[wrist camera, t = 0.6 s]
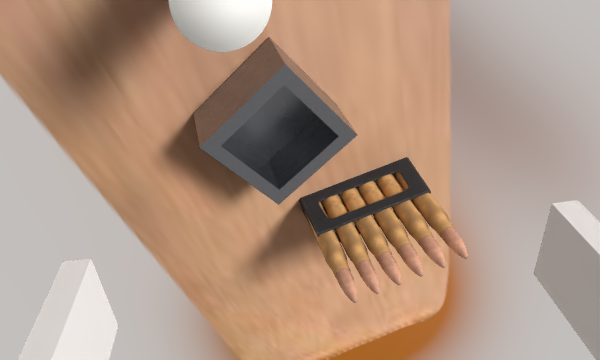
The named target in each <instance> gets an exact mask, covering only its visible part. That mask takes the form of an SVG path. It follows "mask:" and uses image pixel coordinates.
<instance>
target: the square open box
mask: <svg viewBox="0 0 600 360" xmlns="http://www.w3.org/2000/svg"><path fill="white" fill-rule="evenodd" d="M193 114H194V120H195V125H196V131H197V136H198V142H199V147H200V148H201V149H202V150H203V151H205V152H206V153H208V154H209V155H210V156H212V157H213V158H215V159H216V160H217V161H219V162H220V163H221V164H223V165H224V166H226V167H227V168H228V169H230V170H231V171H233V172H234V173H235V174H237V175H238V176H240V177H241V178H242V179H244V180H245V181H247V182H248V183H249V184H251V185H252V186H253V187H255V188H256V189H258V190H259V191H260V192H262V193H263V194H265V195H266V196H267V197H269V198H270V199H272V200H273V201H274V202H276V203H277V204H280V203H281V202H282V201H283V200H285V199H286V198H287V197H288V196H289V195H290V194H291V193H293V192H294V191H295V190H296V189H297V188H298V187H299V186H300V185H302V184H303V183H304V182H305V181H306V180H307V179H308V178H309V177H311V176H312V175H313V174H314V173H315V172H316V171H317V170H318V169H320V168H321V167H322V166H323V165H324V164H325V163H326V162H327V161H329V160H330V159H331V158H332V157H333V156H334V155H335V154H336V153H338V152H339V151H340V150H341V149H342V148H343V147H344V146H346V145H347V144H348V143H349V142H350V141H351V140H352V139H353V138H355V137H356V136H357V134H356V132H355V131H354V129H353V128H352V126H351V125H350V123H349V122H348V121H347V119H346V118H345V116H344V115H343V113H342V112H341V111H340V109H339V108H338V106H337V105H336V104H335V103H334V102H333V101H332V100H331V99H330V98H329V97H328V96H327V95H326V94H325V93H324V92H323V91H322V90H321V89H320V88H319V87H318V86H317V85H316V84H315V83H314V82H313V81H312V80H311V79H310V78H309V77H308V76H307V75H306V74H305V73H304V72H303V71H302V70H301V69H300V68H299V67H298V66H297V65H296V64H295V63H294V62H293V61H292V60H291V59H290V58H289V57H288V56H287V55H286V54H285V53H284V52H283V51H282V50H281V49H280V48H279V47H278V46H277V45H276V44H275V43H274V42H273V41H272V40H271V39H270V38H268V39H267V40H266V41H265V42H264V43H263V44H262V45H261V46H260V47H259V48H258V49H257V50H256V51H255V52H254V53H253V54H252V55H251V56H250V57H249V58H248V59H247V60H246V61H245V62H244V63H243V64H242V65H241V66H240V67H239V68H238V69H237V70H236V71H235V72H234V73H233V74H232V75H231V76H230V77H229V78H228V79H227V80H226V81H225V82H224V83H223V84H222V85H221V86H220V87H219V88H218V89H217V90H216V91H215V92H214V93H213V94H212V95H211V96H210V97H209V98H208V99H207V100H206V101H205V102H204V103H203V104H202V105H201V106H200V107H199V108H198V109H197V110H196V111H195V112H194V113H193Z"/></svg>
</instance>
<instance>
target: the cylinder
mask: <svg viewBox="0 0 600 360" xmlns="http://www.w3.org/2000/svg"><path fill="white" fill-rule="evenodd" d="M168 1H169V7H170V12H171V15H172V18H173V20H174V22H175V24H176V26H177V28H178V29H179V30H180V32H181V33H182V34H183V35H184V36H185V37H186V38H187V39H188V40H189V41H191V42H192V43H193V44H195V45H197V46H198V47H201V48H203V49H206V50H209V51H215V52H228V51H234V50H237V49H240V48H242V47H244V46H246V45H248V44H249V43H251V42H252V41H254V40H255V39H256V38H257V37H258V36H259V35H260V33H261V32H262V31H263V29H264V28H265V26H266V24H267V22H268V20H269V17H270V14H271V9H272V0H168Z"/></svg>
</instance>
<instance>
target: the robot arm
mask: <svg viewBox="0 0 600 360" xmlns="http://www.w3.org/2000/svg"><path fill="white" fill-rule="evenodd" d="M534 275H535V276H536V277H537V279H538V280H539V282H540V283H541V284H542V286H543V287H544V289H545V290H546V291H547V293H548V294H549V295H550V297H551V298H552V300H553V301H554V302H555V304H556V305H557V306H558V308H559V309H560V311H561V312H562V313H563V315H564V316H565V317H566V319H567V320H568V322H569V323H570V324H571V326H572V327H573V329H574V330H575V331H576V333H577V334H578V335H579V337H580V338H581V340H582V341H583V342H584V344H585V345H586V346H587V348H588V349H589V351H590V352H591V354H592V355H593V356H594V358H595V359H596V360H600V222H599V221H598V220H597V219H596V218H595V217H594V216H593V215H592V214H591V213H590V212H589V211H588V210H587V209H586V208H585V207H584V206H583V205H582V204H580V202H578V201H568V202H560V203H552V205H551V209H550V213H549V216H548V220H547V224H546V228H545V232H544V236H543V240H542V243H541V247H540V251H539V256H538V259H537V263H536V267H535V271H534ZM117 328H118V324H117V322H116V319H115V317H114V314H113V312H112V309H111V307H110V304H109V302H108V299H107V297H106V294H105V292H104V289H103V287H102V284H101V282H100V280H99V277H98V275H97V272H96V270H95V267H94V265H93V262H92V260H91V258H89V259H81V260H72V261H64V262H62V264H61V267H60V269H59V271H58V273H57V275H56V277H55V280H54V282H53V284H52V286H51V288H50V291H49V293H48V295H47V297H46V300H45V301H44V304H43V306H42V308H41V310H40V312H39V314H38V317H37V319H36V321H35V323H34V325H33V328H32V330H31V332H30V334H29V337H28V339H27V341H26V343H25V345H24V347H23V350H22V352H21V354H20V356H19V358H18V360H109V358H110V354H111V350H112V346H113V343H114V339H115V336H116V332H117Z"/></svg>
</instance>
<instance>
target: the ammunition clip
mask: <svg viewBox="0 0 600 360" xmlns="http://www.w3.org/2000/svg"><path fill="white" fill-rule="evenodd" d="M402 188H403V189H402ZM381 192H382V193H383V194H382V193H381ZM383 195H384V196H385V197H384V196H383ZM299 201H300V204H301V207H302V209H303V212H304V214H305V216H306V218H307V220H308V222H309V224H310V226H311V228H312V230H313V232H314V234H315V236H316V239H317V241H318V243H319V246H320V248H321V250H322V253H323V255H324V257H325V260H326V262H327V264H328V265H329V267H330V268H331V269H332V271H333V273H334V275H335V277H336V278H337V280H338V283H339V285H340V286H341V288H342V290H343V291H344V293H345V294H346V295H347V297H348V298H349V299H350V300H351V301H353V302H354V303H356V302H357V289H356V285H355V282H354V279H353V276H352V274H351V272H350V268H349V266H348V263H347V258H346V255H345V253H344V250H343V248H342V246H341V244H340V242H341V243H342V245H343V247H344V249H345V251H346V253H347V255H348V257H349V258H350V260H351V261H352V262H353V263H354V265H355V267H356V269H357V270H358V272H359V274H360V276H361V277H362V279H363V280H364V282H365V283H366V285H367V286H368V287H369V288H370V289H371V290H372V291H373V292H374V293H376V294H379V282H378V278H377V275H376V272H375V270H374V268H373V266H372V264H371V261H370V258H369V256H368V253H367V249H366V246H365V245H364V243H363V241H362V239H361V237H360V235H359V234H361V236H362V238H363V240H364V242H365V244H366V245H367V247H368V249H369V250H370V252H371V253H372V254H373V255H374V256H375V258H376V259H377V261H378V262H379V264H380V265H381V267H382V269H383V270H384V272H385V273H386V274H387V276H388V277H389V278H390V279H391V280H392V281H393V282H394V283H396V284H397V285H401V275H400V271H399V268H398V266H397V263H396V261H395V259H394V258H393V256H392V253H391V251H390V249H389V247H388V243H387V240H386V238H387V239H388V241H389V242H390V243H391V244H392V245H393V246H394V247H395V249H396V250H397V252H398V253H399V254H400V256H401V257H402V259H403V261H404V262H405V263H406V264H407V266H408V267H409V268H410V269H411V270H412V271H413V272H414V273H416V274H417V275H419V276H421V277H422V276H423V268H422V264H421V261H420V259H419V257H418V255H417V253H416V251H415V249H414V248H413V246H412V244H411V242H410V240H409V238H408V235H407V232H406V230H405V229H404V227H403V225H404V226H405V228H406V229H407V231H408V232H409V234H410V235H411V236H412V237H413V238H414V239H415V240H416V241H417V242H418V244H419V245H420V246H421V247H422V249H423V250H424V251H425V253H426V254H427V255H428V256H429V257H430V258H431V259H432V260H433V261H434V262H435V263H436V264H438V265H439V266H441V267H443V268H445V266H446V264H445V259H444V256H443V253H442V251H441V249H440V247H439V245H438V243H437V242H436V240H435V239H434V237H433V235H432V233H431V232H430V230H429V228H428V225H427V223H428V224H429V225H430V226H431V227H432V228H433V229H434V230H435V231H436V232H437V233H438V234H439V235H440V237H441V238H442V239H443V240H444V241H445V243H446V244H447V245H448V246H449V247H450V248H451V249H452V250H453V251H454V252H455V253H457V254H458V255H459V256H461V257H463V258H465V259H467V258H468V255H467V254H468V253H467V250H466V247H465V245H464V243H463V241H462V239H461V237H460V236H459V234H458V233H457V232H456V230H455V228H454V227H453V225H452V224H451V222H450V220H449V218H448V216H447V214H446V213H445V211H444V210H443V209H442V208H441V206H440V205H439V204H438V202H437V201H436V200H435V198H434V197H433V196H432V195H431V191H430V189H429V188H428V186H427V185H426V183H425V182H424V180H423V179H422V177H421V176H420V175H419V173H418V172H417V170H416V169H415V167H414V166H413V164H412V163H411V162H410V160H409V159H408V158H407V157H406V158H404V159H401V160H398V161H396V162H393V163H390V164H388V165H385V166H383V167H380V168H377V169H375V170H372V171H370V172H367V173H364V174H362V175H359V176H357V177H354V178H351V179H349V180H346V181H344V182H341V183H338V184H336V185H333V186H331V187H328V188H325V189H323V190H320V191H318V192H315V193H312V194H310V195H307V196H305V197H302V198H300V200H299ZM364 201H365V202H364ZM365 203H366V204H365ZM345 207H346V208H345ZM391 207H392V208H393V210H394V211H393V210H392V208H391ZM346 209H347V210H348V212H347V210H346ZM419 212H420V213H421V214H422V216H423V217H424V218H423V217H422V216H421V214H420V213H419ZM327 214H328V216H329V218H328V216H327ZM372 215H373V216H374V218H373V216H372ZM399 219H400V220H401V222H402V223H403V225H402V224H401V222H400V221H399ZM424 219H425V220H426V221H427V223H426V221H425V220H424ZM353 222H354V223H355V225H354V223H353ZM379 227H380V228H381V229H382V231H383V233H384V234H385V236H386V238H385V237H384V235H383V233H382V231H381V230H380V228H379ZM334 229H335V231H336V232H335V231H334Z"/></svg>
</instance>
